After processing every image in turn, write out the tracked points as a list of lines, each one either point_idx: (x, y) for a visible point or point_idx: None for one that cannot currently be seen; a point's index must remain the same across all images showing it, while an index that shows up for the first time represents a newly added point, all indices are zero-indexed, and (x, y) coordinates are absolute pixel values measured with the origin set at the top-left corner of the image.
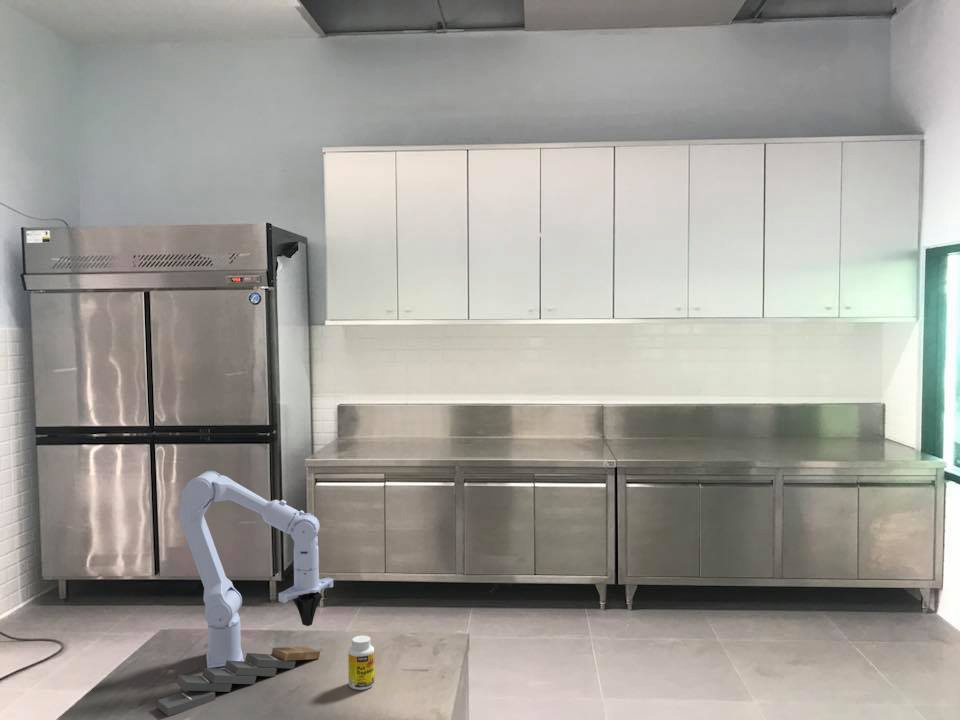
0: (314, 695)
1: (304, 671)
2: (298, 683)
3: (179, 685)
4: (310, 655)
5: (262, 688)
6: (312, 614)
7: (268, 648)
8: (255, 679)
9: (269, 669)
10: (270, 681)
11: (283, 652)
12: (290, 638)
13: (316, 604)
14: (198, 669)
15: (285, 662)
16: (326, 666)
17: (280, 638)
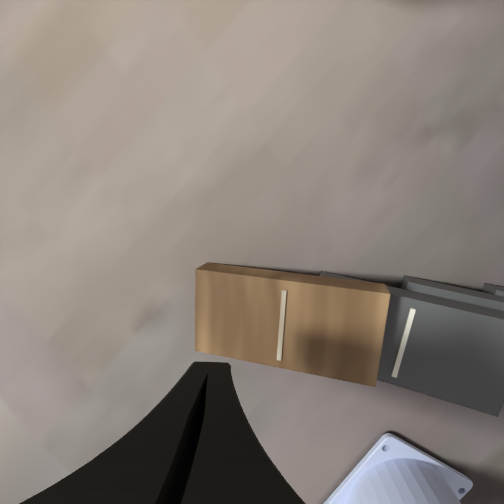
0: (456, 10)
1: (316, 220)
2: (405, 156)
3: None
4: (246, 272)
5: (497, 234)
6: (186, 401)
7: None
8: (493, 287)
9: (444, 289)
10: (441, 256)
11: (385, 314)
12: None
13: (117, 462)
14: (480, 494)
15: None
16: (236, 184)
17: None
